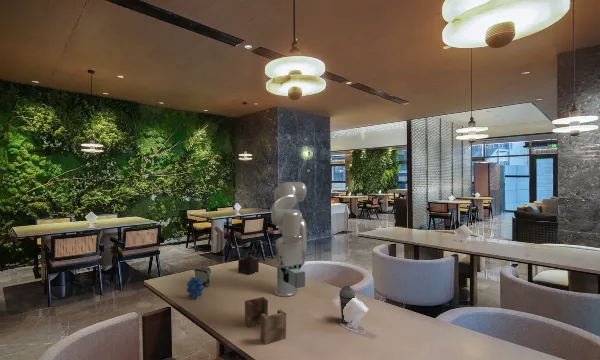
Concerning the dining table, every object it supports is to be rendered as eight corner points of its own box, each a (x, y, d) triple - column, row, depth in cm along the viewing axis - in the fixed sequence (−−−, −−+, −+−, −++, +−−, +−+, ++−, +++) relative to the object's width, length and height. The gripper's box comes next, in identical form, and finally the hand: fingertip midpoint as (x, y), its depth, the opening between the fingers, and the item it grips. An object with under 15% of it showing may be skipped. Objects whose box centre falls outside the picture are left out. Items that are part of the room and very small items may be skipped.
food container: (215, 285, 191) (215, 268, 191) (207, 288, 185) (208, 271, 185) (202, 281, 197) (202, 265, 197) (194, 284, 192) (194, 267, 192)
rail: (285, 276, 146) (285, 263, 146) (304, 286, 132) (305, 272, 132) (277, 278, 144) (277, 264, 144) (296, 288, 130) (296, 273, 130)
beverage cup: (345, 325, 137) (345, 280, 137) (335, 319, 143) (336, 275, 144) (358, 322, 140) (358, 277, 141) (348, 316, 147) (349, 273, 147)
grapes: (208, 297, 169) (209, 275, 170) (199, 302, 163) (200, 278, 164) (193, 294, 175) (193, 272, 175) (183, 298, 169) (183, 275, 169)
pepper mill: (236, 273, 217) (237, 247, 217) (247, 269, 226) (248, 244, 226) (253, 276, 208) (254, 249, 208) (264, 272, 217) (264, 246, 218)
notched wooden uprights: (263, 318, 143) (263, 297, 144) (285, 338, 125) (286, 313, 126) (244, 323, 139) (244, 300, 139) (265, 344, 121) (265, 318, 121)
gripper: (302, 236, 146) (301, 276, 146) (270, 239, 137) (269, 282, 137) (311, 239, 140) (311, 280, 139) (278, 242, 131) (278, 286, 130)
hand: (290, 280), depth 138 cm, fingers closed on rail, 4 cm apart
